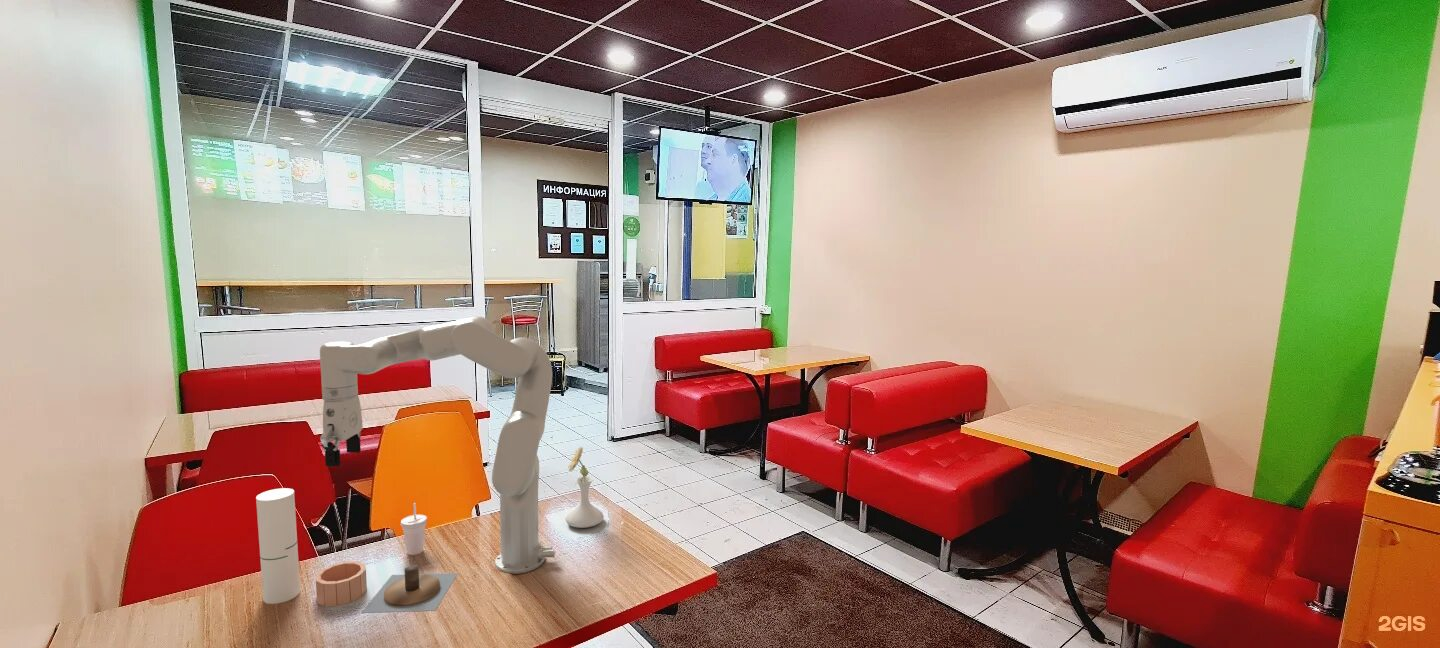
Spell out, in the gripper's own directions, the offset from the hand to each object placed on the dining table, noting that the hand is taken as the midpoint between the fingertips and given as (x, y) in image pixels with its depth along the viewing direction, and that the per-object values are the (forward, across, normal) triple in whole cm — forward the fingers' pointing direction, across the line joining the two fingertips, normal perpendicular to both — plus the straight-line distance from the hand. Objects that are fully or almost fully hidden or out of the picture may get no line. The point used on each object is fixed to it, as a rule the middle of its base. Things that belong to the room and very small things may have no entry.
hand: (343, 458), depth 153 cm
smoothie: (+30, +8, -13) cm, 33 cm away
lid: (+29, -12, -20) cm, 37 cm away
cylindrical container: (+30, -11, +10) cm, 33 cm away
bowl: (+29, -12, -4) cm, 32 cm away
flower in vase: (+30, +24, -56) cm, 68 cm away
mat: (+30, -12, -20) cm, 38 cm away
